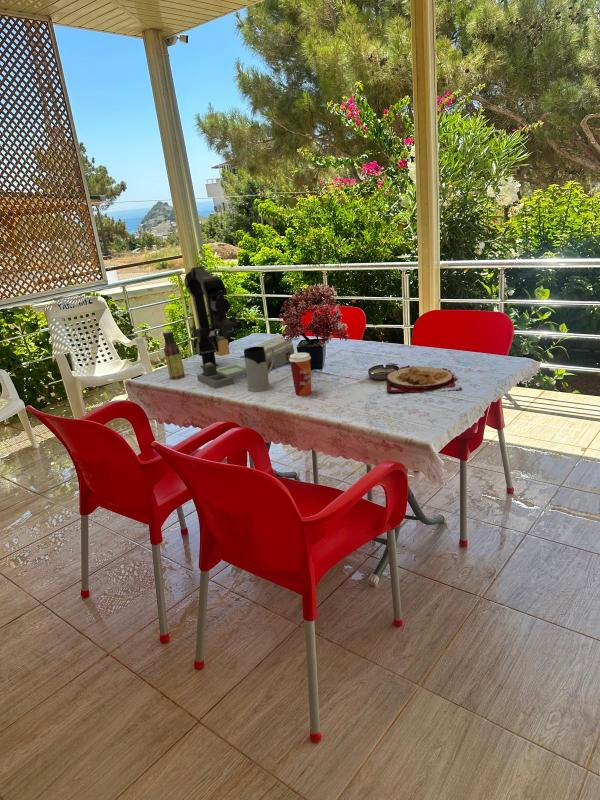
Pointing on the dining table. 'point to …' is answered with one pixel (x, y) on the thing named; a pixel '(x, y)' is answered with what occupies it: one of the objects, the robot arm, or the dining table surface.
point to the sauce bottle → (173, 357)
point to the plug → (222, 346)
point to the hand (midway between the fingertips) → (222, 350)
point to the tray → (233, 370)
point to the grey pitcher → (257, 368)
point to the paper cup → (301, 373)
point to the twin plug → (209, 369)
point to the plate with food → (419, 379)
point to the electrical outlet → (277, 351)
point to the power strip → (216, 380)
